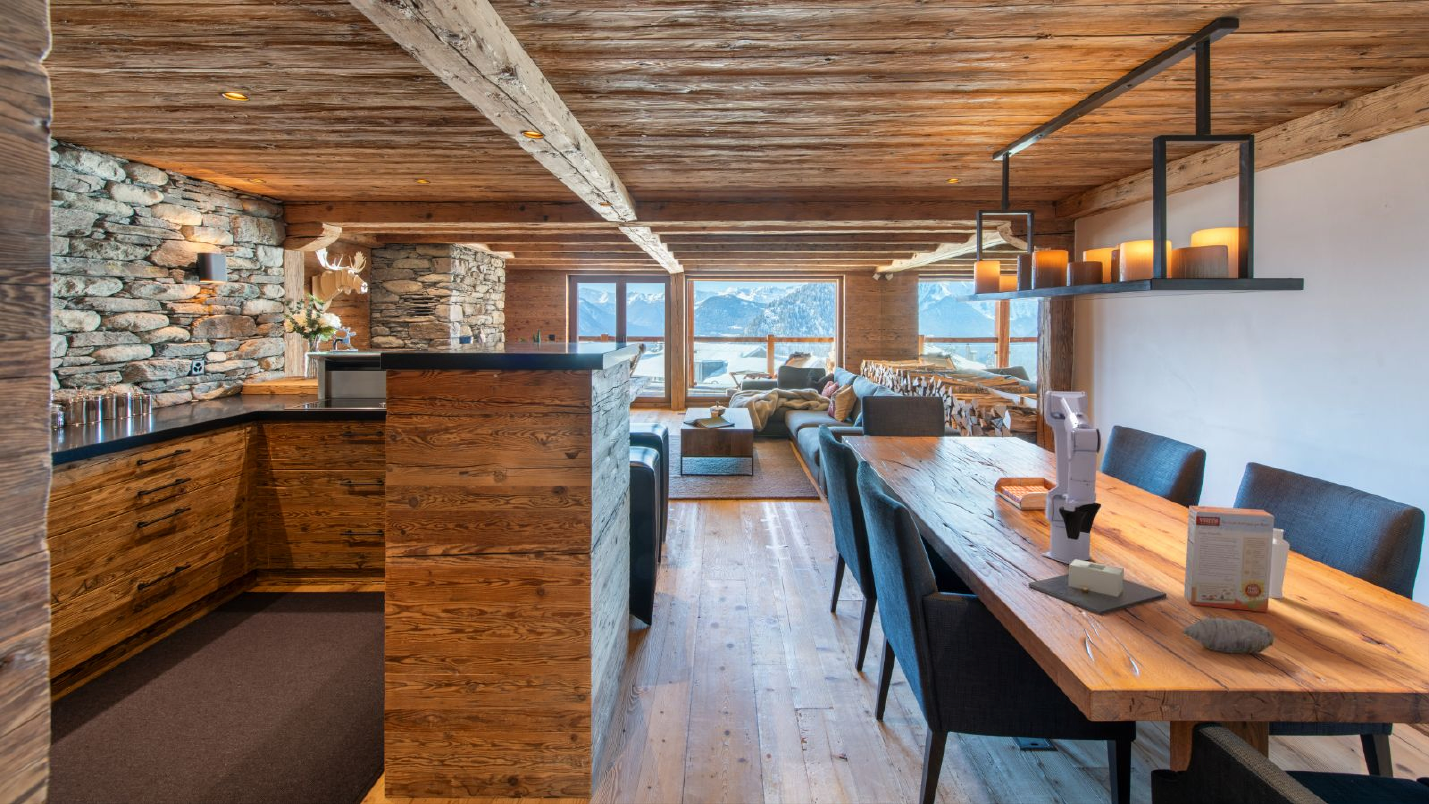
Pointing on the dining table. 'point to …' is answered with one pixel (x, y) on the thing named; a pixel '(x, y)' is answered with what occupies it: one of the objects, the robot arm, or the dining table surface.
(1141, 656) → the dining table surface
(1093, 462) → the robot arm
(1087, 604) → the stand
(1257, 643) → the seashell
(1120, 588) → the block with square hole
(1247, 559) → the cracker box
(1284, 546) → the white plastic bottle
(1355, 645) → the dining table surface
